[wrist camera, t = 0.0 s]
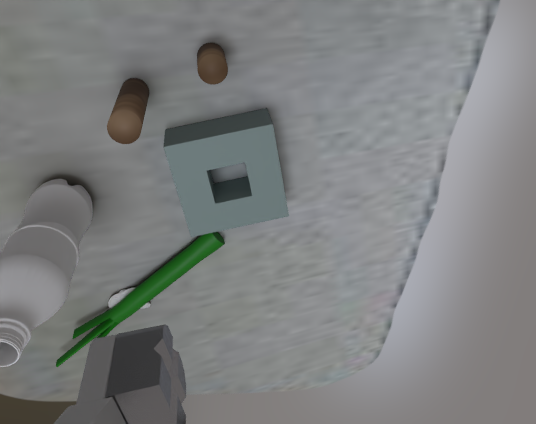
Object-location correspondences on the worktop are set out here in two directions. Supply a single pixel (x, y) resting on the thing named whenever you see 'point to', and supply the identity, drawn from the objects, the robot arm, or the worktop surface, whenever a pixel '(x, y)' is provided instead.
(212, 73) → the short peg
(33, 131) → the worktop surface
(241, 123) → the hole block
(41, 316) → the water bottle
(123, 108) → the long peg
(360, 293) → the worktop surface
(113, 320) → the green onion
